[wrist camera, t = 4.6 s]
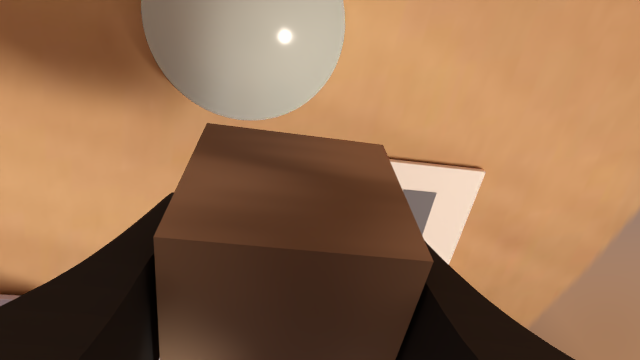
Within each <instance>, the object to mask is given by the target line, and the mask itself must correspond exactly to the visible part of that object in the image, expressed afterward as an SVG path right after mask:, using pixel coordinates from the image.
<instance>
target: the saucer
mask: <svg viewBox="0 0 640 360" xmlns="http://www.w3.org/2000/svg"><path fill="white" fill-rule="evenodd" d="M141 14H142V22H143V28H144V32H145V36H146V40H147V42H148V45H149V48H150V50H151V53H152V55H153V57H154V58H155V60H156V62H157V64H158V66H159V67H160V69H161V70H162V72H163V73H164V75H165V76H166V77H167V78H168V80H169V81H170V82H171V83H172V84H173V85H174V87H176V88H177V89H178V90H179V91H180V92H181V93H182V94H183V95H184V96H186V97H187V98H188V99H190V100H191V101H192V102H194V103H195V104H197V105H199V106H200V107H202V108H204V109H206V110H208V111H210V112H213V113H215V114H218V115H221V116H224V117H228V118H233V119H238V120H265V119H270V118H275V117H278V116H281V115H284V114H287V113H289V112H291V111H293V110H295V109H297V108H299V107H300V106H302V105H303V104H305V103H306V102H308V101H309V100H310V99H311V98H312V97H314V96H315V95H316V94H317V93H318V92H319V90H320V89H321V88H322V87H323V86H324V85H325V83H326V82H327V80H328V79H329V78H330V76H331V74H332V72H333V70H334V68H335V67H336V64H337V62H338V59H339V56H340V54H341V50H342V45H343V41H344V33H345V11H344V4H343V0H141Z"/></svg>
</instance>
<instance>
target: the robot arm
mask: <svg viewBox="0 0 640 360" xmlns="http://www.w3.org/2000/svg"><path fill="white" fill-rule="evenodd" d="M173 194H174V193H171V194H169V195H168V196H167V197H165V198H164V199H163V200H162V201H161V202H159V203H158V204H157V205H156V206H155V207H154V208H153V209H151V210H150V211H149V212H148V213H147V214H145V215H144V216H143V217H142V218H141V219H139V220H138V221H137V222H136V223H134V224H133V225H132V226H131V227H129V228H128V229H127V230H126V231H124V232H123V233H122V234H121V235H119V236H118V237H117V238H115V239H114V240H113V241H111V242H110V243H108V244H107V245H106V246H104V247H103V248H101V249H100V250H99V251H97V252H96V253H94V254H93V255H92V256H90V257H89V258H87V259H86V260H84V261H83V262H81V263H79V264H78V265H76V266H75V267H73V268H71V269H70V270H68V271H66V272H64V273H63V274H61V275H59V276H58V277H56V278H54V279H52V280H51V281H49V282H47V283H45V284H43V285H41V286H39V287H37V288H35V289H33V290H31V291H29V292H27V293H26V294H24V295H22V296H18V295H1V294H0V360H160V352H159V333H158V314H157V295H156V276H155V257H154V238H153V237H154V235H155V233H156V230H157V228H158V226H159V224H160V222H161V220H162V218H163V216H164V213H165V211H166V209H167V207H168V205H169V203H170V201H171V199H172V196H173ZM424 241H425V240H424ZM425 243H426V241H425ZM426 245H427V248H428V250H429V252H430V255H431V257H432V259H433V261H434V262H433V264H432V267H431V270H430V272H429V275H428V277H427V280H426V282H425V285H424V288H423V290H422V293H421V295H420V298H419V300H418V303H417V305H416V308H415V311H414V313H413V316H412V318H411V321H410V323H409V326H408V329H407V331H406V334H405V336H404V339H403V341H402V344H401V347H400V349H399V352H398V354H397V357H396V359H395V360H575V359H573V358H571V357H569V356H568V355H566V354H565V353H563V352H561V351H560V350H558V349H557V348H555V347H553V346H552V345H550V344H549V343H547V342H545V341H544V340H542V339H541V338H539V337H538V336H537V335H535V334H534V333H532V332H531V331H529V330H528V329H526V328H525V327H523V326H522V325H520V324H519V323H518V322H516V321H515V320H513V319H512V318H511V317H509V316H508V315H507V314H505V313H504V312H503V311H501V310H500V309H499V308H498V307H496V306H495V305H494V304H492V303H491V302H490V301H489V300H487V299H486V298H485V297H484V296H483V295H481V294H480V293H479V292H478V291H477V290H475V289H474V288H473V287H472V286H471V285H470V284H469V283H468V282H466V281H465V280H464V279H463V278H462V277H461V276H460V275H459V274H458V273H457V272H456V271H454V270H453V269H452V268H451V267H450V266H449V265H448V264H447V263H446V262H445V261H444V260H443V259H442V258H441V257H440V256H439V255H438V254H437V253H436V252H435V251H434V250H433V249H432V248H431V247H430V246H429V245H428V244H427V243H426Z"/></svg>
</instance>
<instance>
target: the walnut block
mask: <svg viewBox="0 0 640 360" xmlns="http://www.w3.org/2000/svg"><path fill="white" fill-rule="evenodd" d="M153 238H154V257H155V276H156V295H157V314H158V333H159V352H160V360H395V359H396V357H397V354H398V352H399V349H400V347H401V344H402V341H403V339H404V336H405V334H406V331H407V329H408V326H409V323H410V321H411V318H412V316H413V313H414V311H415V308H416V305H417V303H418V300H419V298H420V295H421V293H422V290H423V288H424V285H425V282H426V280H427V277H428V275H429V272H430V270H431V267H432V264H433V262H434V261H433V259H432V257H431V255H430V252H429V250H428V248H427V245H426V243H425V241H424V238H423V236H422V234H421V232H420V229H419V227H418V225H417V222H416V220H415V218H414V215H413V213H412V211H411V209H410V206H409V204H408V202H407V199H406V197H405V195H404V192H403V190H402V188H401V186H400V183H399V181H398V179H397V176H396V174H395V172H394V169H393V167H392V165H391V162H390V160H389V158H388V156H387V153H386V151H385V149H384V146H383V145H379V144H371V143H363V142H355V141H347V140H339V139H330V138H322V137H314V136H306V135H298V134H290V133H282V132H274V131H266V130H258V129H250V128H242V127H234V126H226V125H218V124H210V123H207V124H206V126H205V129H204V131H203V133H202V135H201V137H200V139H199V141H198V143H197V146H196V148H195V150H194V152H193V154H192V156H191V158H190V160H189V163H188V165H187V167H186V169H185V171H184V173H183V175H182V177H181V180H180V182H179V184H178V186H177V188H176V190H175V192H174V194H173V196H172V199H171V201H170V203H169V205H168V207H167V209H166V211H165V213H164V216H163V218H162V220H161V222H160V224H159V226H158V228H157V230H156V233H155V235H154V237H153Z"/></svg>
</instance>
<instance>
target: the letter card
mask: <svg viewBox="0 0 640 360" xmlns="http://www.w3.org/2000/svg"><path fill="white" fill-rule="evenodd" d="M389 160H390V162H391V165H392V167H393V169H394V172H395V174H396V176H397V179H398V181H399V183H400V186H401V188H402V190H403V192H404V195H405V197H406V199H407V202H408V204H409V206H410V209H411V211H412V213H413V215H414V218H415V220H416V222H417V225H418V227H419V229H420V232H421V234H422V236H423V238H424V240H425V241H426V243H427V244H428V245H429V246H430V247H431V248H432V249H433V250H434V251H435V252H436V253H437V254H438V255H439V256H440V257H441V258H442V259H443V260H444V261H445V262H446V263H447V264H448V265H449V263H450V260H451V258H452V255H453V253H454V250H455V248H456V245H457V243H458V240H459V238H460V235H461V233H462V230H463V228H464V225H465V223H466V220H467V218H468V215H469V213H470V210H471V208H472V205H473V203H474V200H475V198H476V195H477V193H478V190H479V188H480V185H481V183H482V180H483V178H484V175H485V173H486V172H485V171H484V170H483V169H476V168H467V167H458V166H449V165H440V164H431V163H422V162H412V161H403V160H394V159H389Z"/></svg>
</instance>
